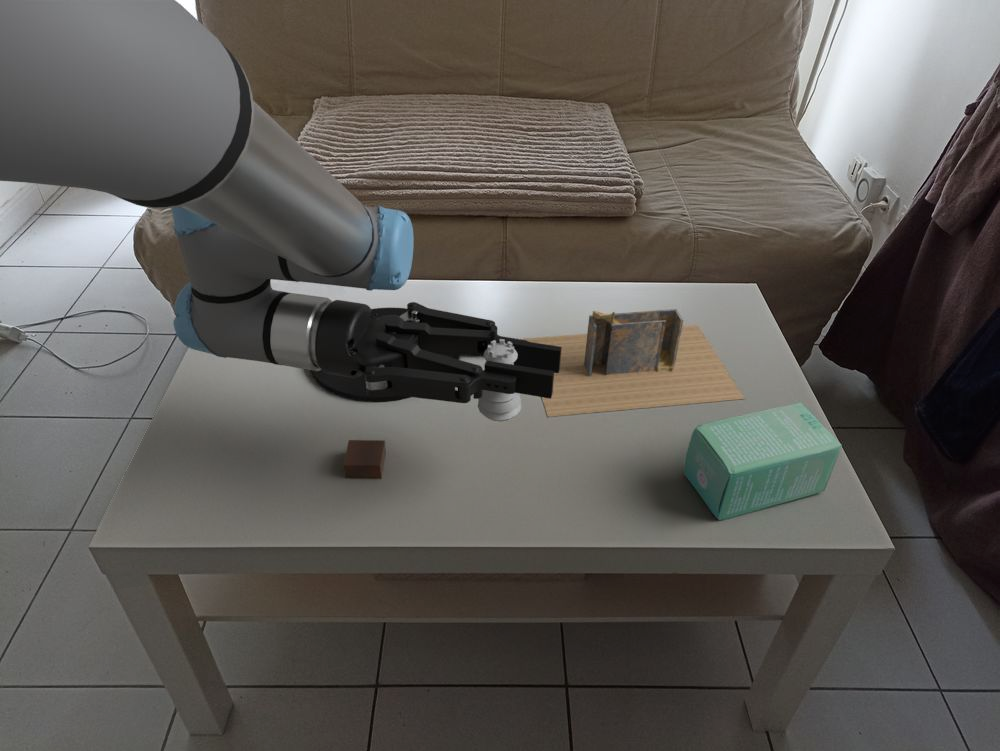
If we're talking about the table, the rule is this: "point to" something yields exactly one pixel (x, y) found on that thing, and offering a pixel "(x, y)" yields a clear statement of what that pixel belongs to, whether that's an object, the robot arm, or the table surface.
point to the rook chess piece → (495, 402)
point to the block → (364, 459)
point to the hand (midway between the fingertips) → (556, 372)
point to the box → (760, 459)
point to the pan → (357, 386)
